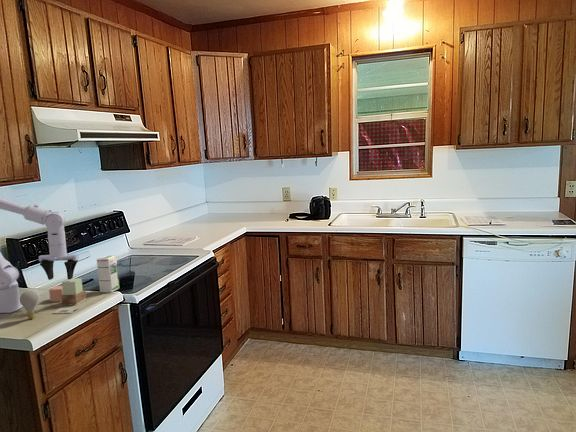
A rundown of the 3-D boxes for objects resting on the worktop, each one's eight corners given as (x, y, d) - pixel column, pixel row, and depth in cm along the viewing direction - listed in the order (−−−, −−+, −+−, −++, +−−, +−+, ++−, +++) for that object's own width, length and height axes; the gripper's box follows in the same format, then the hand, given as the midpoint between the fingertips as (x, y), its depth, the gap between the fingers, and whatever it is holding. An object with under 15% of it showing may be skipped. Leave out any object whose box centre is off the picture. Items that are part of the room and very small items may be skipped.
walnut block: (62, 305, 160) (61, 295, 160) (72, 300, 166) (71, 290, 166) (76, 305, 159) (75, 295, 159) (86, 300, 165) (85, 290, 165)
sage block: (63, 295, 160) (61, 282, 159) (70, 291, 165) (68, 278, 164) (76, 294, 160) (74, 281, 159) (82, 290, 165) (81, 278, 164)
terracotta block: (50, 301, 165) (49, 289, 164) (57, 297, 170) (56, 285, 169) (62, 301, 164) (61, 289, 164) (69, 297, 169) (68, 285, 169)
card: (52, 313, 150) (52, 312, 150) (60, 309, 155) (60, 307, 155) (71, 313, 150) (71, 312, 150) (78, 308, 155) (78, 307, 155)
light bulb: (18, 321, 144) (15, 293, 143) (30, 315, 149) (27, 288, 148) (32, 321, 143) (29, 293, 142) (44, 316, 148) (41, 288, 147)
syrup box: (112, 292, 174) (109, 258, 172) (99, 292, 175) (96, 258, 173) (120, 288, 180) (117, 255, 178) (107, 288, 181) (104, 255, 179)
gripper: (32, 246, 155) (35, 282, 157) (70, 245, 155) (73, 281, 156) (43, 242, 162) (47, 277, 164) (80, 242, 162) (83, 276, 163)
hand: (60, 279), depth 161 cm, fingers open, 7 cm apart
